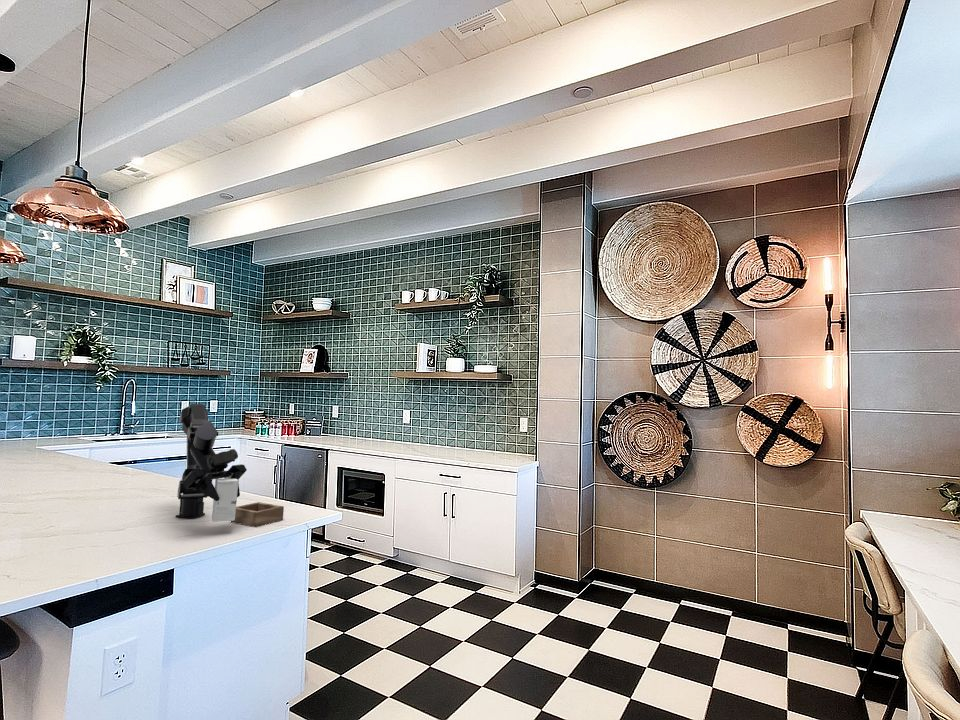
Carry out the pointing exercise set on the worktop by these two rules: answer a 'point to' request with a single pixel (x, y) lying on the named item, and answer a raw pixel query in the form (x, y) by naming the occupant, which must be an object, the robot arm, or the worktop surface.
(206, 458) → the robot arm
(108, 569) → the worktop surface
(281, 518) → the walnut socket
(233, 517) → the skincare box
